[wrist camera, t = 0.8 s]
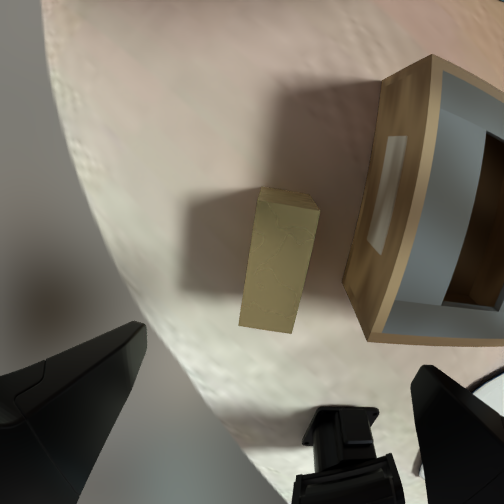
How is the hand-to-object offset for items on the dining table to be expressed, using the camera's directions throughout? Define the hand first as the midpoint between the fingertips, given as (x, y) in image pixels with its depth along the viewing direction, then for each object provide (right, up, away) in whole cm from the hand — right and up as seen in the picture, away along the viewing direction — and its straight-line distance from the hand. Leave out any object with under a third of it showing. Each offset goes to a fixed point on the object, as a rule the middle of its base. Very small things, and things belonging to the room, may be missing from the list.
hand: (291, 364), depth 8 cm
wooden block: (0, +4, +11) cm, 12 cm away
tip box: (+12, +7, +9) cm, 17 cm away
